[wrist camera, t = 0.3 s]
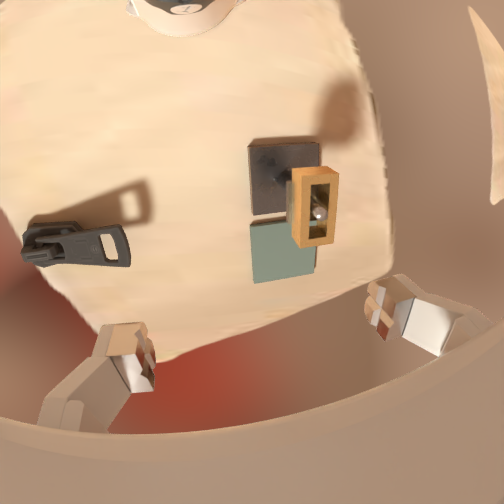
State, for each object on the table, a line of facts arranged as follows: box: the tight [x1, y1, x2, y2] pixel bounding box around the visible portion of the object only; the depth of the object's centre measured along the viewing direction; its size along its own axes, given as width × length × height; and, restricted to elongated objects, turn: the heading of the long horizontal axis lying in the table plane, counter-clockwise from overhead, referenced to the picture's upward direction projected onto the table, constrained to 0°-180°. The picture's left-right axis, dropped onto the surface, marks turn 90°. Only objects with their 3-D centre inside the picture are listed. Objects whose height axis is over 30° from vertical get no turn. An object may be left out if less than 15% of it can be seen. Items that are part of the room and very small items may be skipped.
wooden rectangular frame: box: [292, 166, 339, 249], centre depth 36 cm, size 10×5×4 cm, turn 3°
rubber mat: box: [250, 220, 317, 284], centre depth 55 cm, size 13×13×1 cm
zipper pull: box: [21, 221, 131, 268], centre depth 42 cm, size 9×7×25 cm
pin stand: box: [248, 142, 328, 224], centre depth 40 cm, size 12×12×16 cm
